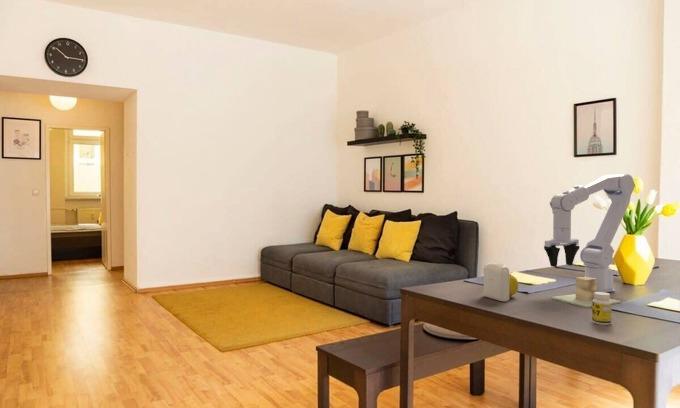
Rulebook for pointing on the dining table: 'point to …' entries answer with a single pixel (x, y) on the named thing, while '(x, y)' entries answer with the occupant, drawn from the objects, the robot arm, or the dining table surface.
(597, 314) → the supplement bottle
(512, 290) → the lemon
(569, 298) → the felt mat
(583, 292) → the birch block
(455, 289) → the dining table surface
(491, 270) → the photo printer
